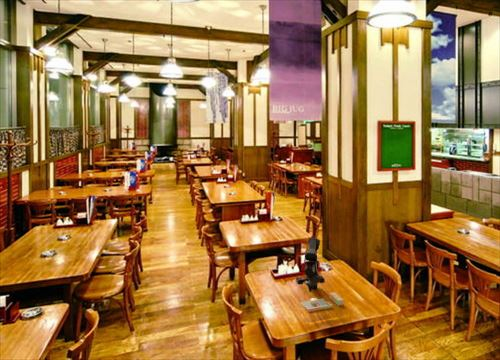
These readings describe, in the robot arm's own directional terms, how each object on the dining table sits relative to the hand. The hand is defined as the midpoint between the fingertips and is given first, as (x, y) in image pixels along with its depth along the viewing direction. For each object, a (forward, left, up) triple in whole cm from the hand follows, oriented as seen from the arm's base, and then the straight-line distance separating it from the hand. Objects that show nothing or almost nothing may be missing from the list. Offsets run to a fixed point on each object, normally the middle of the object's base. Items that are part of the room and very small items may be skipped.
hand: (309, 291), depth 242 cm
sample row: (+2, +20, -11) cm, 22 cm away
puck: (-1, +4, -10) cm, 10 cm away
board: (+2, +4, -11) cm, 11 cm away
